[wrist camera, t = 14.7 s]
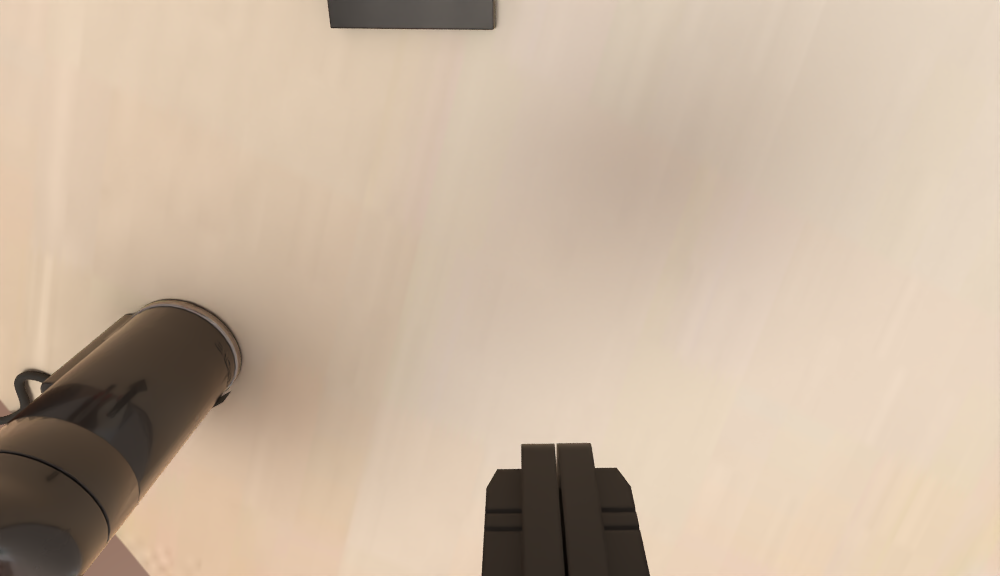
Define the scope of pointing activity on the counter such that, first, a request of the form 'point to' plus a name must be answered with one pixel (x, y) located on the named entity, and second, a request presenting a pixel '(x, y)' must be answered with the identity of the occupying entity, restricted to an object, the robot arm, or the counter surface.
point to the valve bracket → (412, 14)
